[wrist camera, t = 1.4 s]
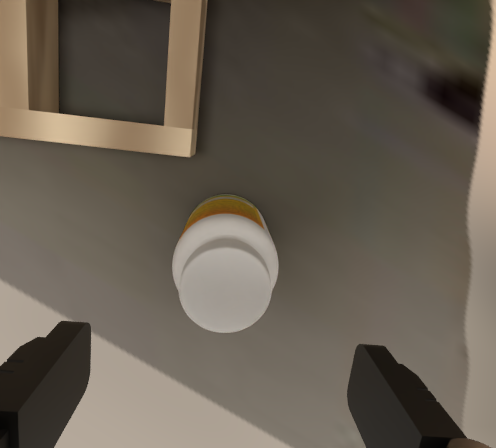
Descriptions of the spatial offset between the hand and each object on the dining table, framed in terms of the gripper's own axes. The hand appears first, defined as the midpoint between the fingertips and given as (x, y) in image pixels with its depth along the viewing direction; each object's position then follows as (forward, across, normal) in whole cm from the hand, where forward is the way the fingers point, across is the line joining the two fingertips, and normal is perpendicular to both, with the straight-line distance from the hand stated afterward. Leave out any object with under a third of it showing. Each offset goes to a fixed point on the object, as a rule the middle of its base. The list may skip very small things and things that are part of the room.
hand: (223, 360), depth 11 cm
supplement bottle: (+14, 0, 0) cm, 15 cm away
